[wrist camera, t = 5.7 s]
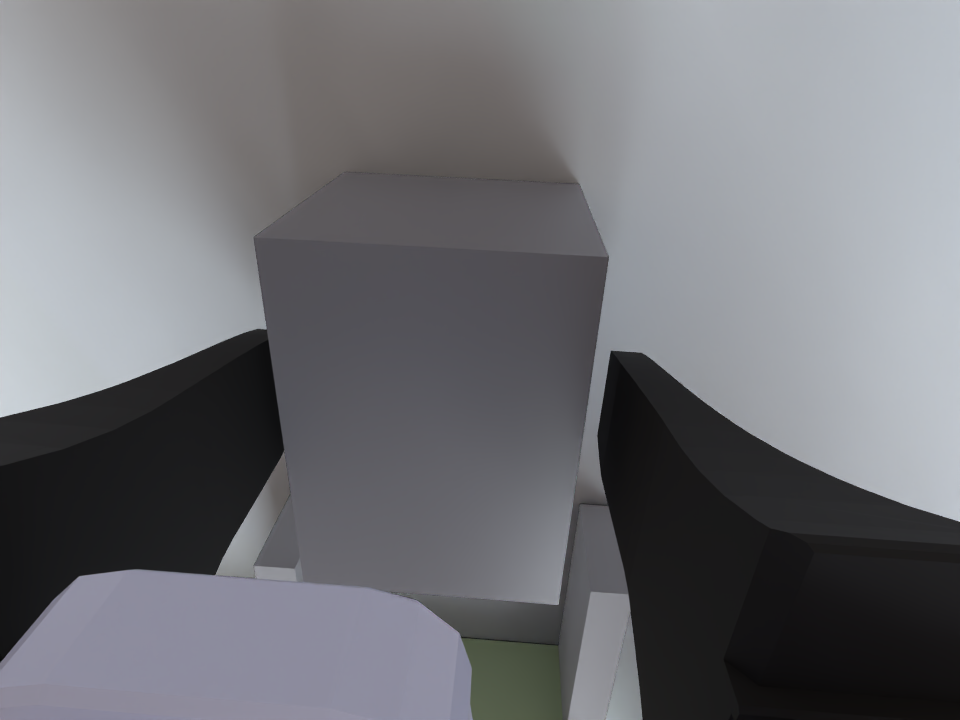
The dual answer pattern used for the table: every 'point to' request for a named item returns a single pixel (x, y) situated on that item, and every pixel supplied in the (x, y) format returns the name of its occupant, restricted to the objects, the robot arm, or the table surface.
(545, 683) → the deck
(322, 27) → the table surface
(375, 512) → the grey block
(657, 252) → the table surface
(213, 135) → the table surface
